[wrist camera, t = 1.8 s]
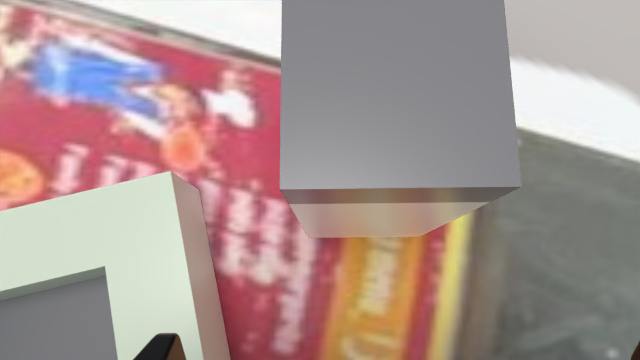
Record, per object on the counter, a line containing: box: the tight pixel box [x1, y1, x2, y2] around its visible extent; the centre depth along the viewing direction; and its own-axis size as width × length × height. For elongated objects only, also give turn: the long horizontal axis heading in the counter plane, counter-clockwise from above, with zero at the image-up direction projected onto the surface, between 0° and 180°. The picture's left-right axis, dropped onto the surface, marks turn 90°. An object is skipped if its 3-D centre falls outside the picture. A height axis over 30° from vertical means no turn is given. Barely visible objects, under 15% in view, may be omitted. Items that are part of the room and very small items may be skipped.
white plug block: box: [280, 0, 522, 238], centre depth 16 cm, size 5×5×12 cm
